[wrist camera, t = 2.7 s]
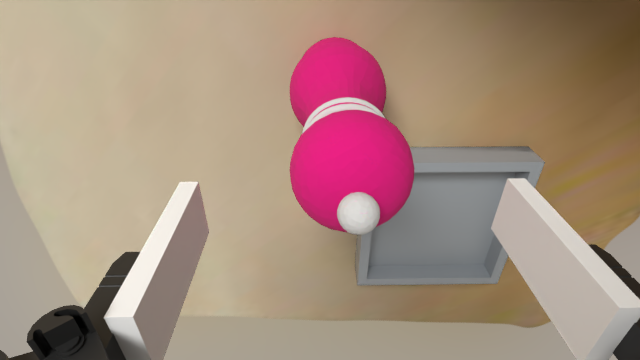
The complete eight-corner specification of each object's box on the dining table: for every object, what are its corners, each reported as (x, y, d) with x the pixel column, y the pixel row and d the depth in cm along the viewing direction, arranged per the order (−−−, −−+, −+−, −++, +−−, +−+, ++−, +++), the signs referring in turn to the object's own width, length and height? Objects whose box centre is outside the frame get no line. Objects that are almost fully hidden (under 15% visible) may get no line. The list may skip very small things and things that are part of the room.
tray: (363, 147, 35) (367, 163, 32) (528, 146, 35) (544, 162, 33) (354, 265, 43) (357, 285, 41) (486, 264, 44) (497, 283, 41)
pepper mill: (323, 128, 34) (334, 310, 17) (275, 64, 30) (229, 209, 14) (391, 85, 32) (482, 243, 15) (347, 11, 28) (400, 105, 11)
